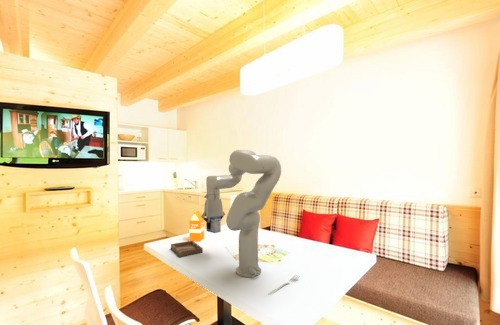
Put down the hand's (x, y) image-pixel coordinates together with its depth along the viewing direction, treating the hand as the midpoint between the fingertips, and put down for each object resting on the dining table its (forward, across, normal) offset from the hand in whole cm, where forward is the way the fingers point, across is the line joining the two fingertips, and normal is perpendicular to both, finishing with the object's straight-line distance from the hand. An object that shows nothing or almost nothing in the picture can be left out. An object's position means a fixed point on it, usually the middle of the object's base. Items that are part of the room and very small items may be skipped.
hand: (213, 227), depth 147 cm
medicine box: (+2, 0, 0) cm, 2 cm away
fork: (+18, +10, -49) cm, 54 cm away
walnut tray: (+16, -10, +19) cm, 27 cm away
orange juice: (+16, +4, +38) cm, 41 cm away
